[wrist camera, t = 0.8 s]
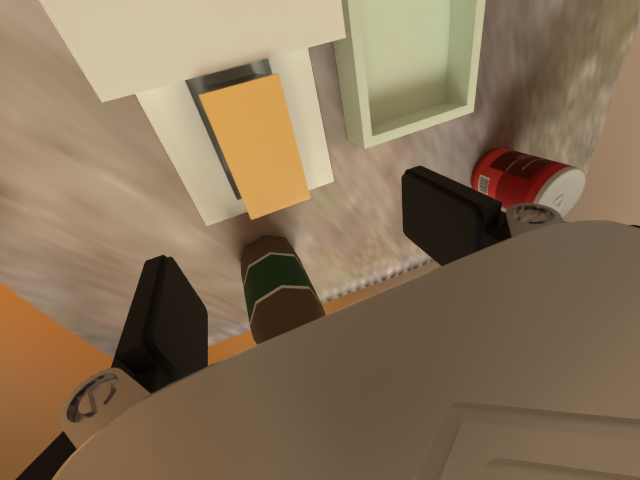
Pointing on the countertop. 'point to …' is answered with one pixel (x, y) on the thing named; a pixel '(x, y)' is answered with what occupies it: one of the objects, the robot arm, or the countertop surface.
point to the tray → (406, 65)
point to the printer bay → (203, 73)
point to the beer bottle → (276, 289)
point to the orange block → (257, 141)
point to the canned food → (528, 180)
